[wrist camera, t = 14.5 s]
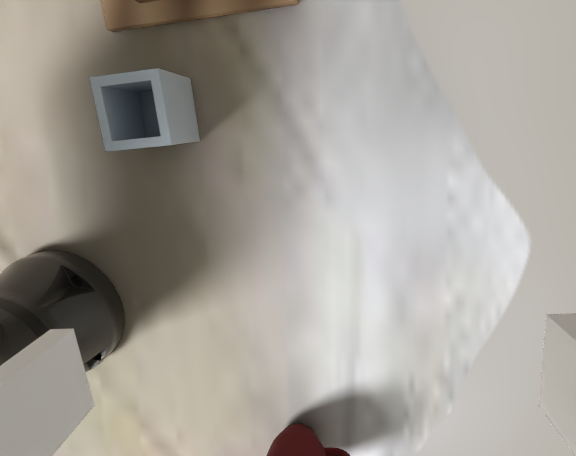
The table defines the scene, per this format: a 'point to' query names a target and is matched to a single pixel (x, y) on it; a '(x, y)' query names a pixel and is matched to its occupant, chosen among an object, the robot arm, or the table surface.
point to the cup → (144, 109)
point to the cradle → (176, 10)
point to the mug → (301, 443)
